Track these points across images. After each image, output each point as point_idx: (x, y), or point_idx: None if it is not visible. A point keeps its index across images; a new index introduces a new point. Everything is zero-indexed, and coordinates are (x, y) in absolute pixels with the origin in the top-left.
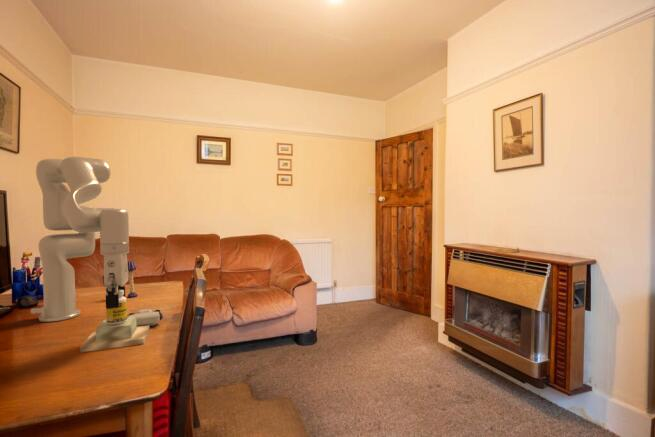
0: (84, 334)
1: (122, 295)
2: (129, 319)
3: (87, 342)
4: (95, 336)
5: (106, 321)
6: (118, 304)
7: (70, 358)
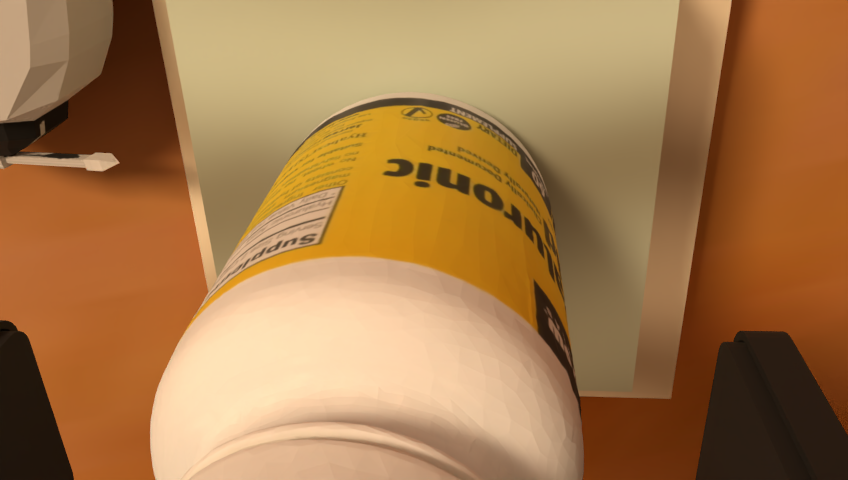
0: None
1: (416, 441)
2: (318, 60)
3: None
4: None
5: None
6: (797, 367)
7: None
